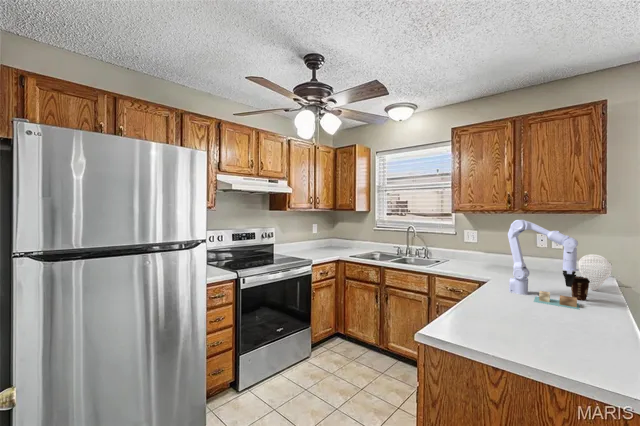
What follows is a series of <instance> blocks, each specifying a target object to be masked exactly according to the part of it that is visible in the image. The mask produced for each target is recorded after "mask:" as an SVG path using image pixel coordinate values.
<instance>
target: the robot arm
mask: <svg viewBox="0 0 640 426" xmlns="http://www.w3.org/2000/svg"><path fill="white" fill-rule="evenodd" d="M529 230H530V231H531V230H532V231H534V232H537V233H539V234H541V235H543V236H546V237H547V239H548V240H549V241H551V242H553V243H556V244H558V245H560V246H563V252H562V253H563V254H562V255H563V257H562V268H561V269H562V276H563V277H564V281H565V286H566V287H567V288H571V287H572V284H573V280H574V278H575V277H576V276H577V274H576V273H577V272H578V271H579V268H578V269H577V262H578V261H577V259H578V246H579V242H578V240H577V239H576V238H574V237H571V236H570V235H565V234H563V233H561V232H560V231H559V230H549V229H546V228H545V227H542V226H540V225H538V224H536V223H534V222H531V221H528V220H525V219H516V220H514V221H513V222H512V223H511V224H510V227H509V230H508V232H507V238H508V242H509V247H510V252H511V255H512V261H513V266H512V267H513V268H512V269H513V271H512V275H513V277H510V278H509V284H508V285H509V286H508V292H509V293H511V294H512V293H513V294H517V295H523V296H526V295H529V294H528V293H529V279H528V277H529V276H530V270H529V269H528V267H527V265H526V262H525V261H524V256H523V252H522V248H521V244H520V238H519V235H521V233H523V232H524V231H529ZM579 272H580V271H579Z"/></svg>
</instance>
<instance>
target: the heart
mask: <svg viewBox="0 0 640 426" xmlns="http://www.w3.org/2000/svg"><path fill="white" fill-rule="evenodd" d="M578 269H579V273H580V275H581V277H584V278H585V277H586V278H588V279H589V281H590V283H589V288H588V289H590V290H592V291H597V290H598V289H599V288H600V287H601V286H602V285H603V284H604V283H605V281H606V280H607V279H608V278H609V277H610V275H611V274H612V272H613V267H612V265H611V263H610V262H609V260H608V259H607V258H606V257H604V256H602V255H599V254H596V253H595V254H594V253H593V254H592V253H591V254H585V255H584V256H582V257H580V258H579V260H578Z"/></svg>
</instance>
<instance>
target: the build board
mask: <svg viewBox="0 0 640 426" xmlns="http://www.w3.org/2000/svg"><path fill="white" fill-rule="evenodd" d="M533 303H537V304H543V305H550V306H555V307H561V308H562V307H563V308H568V309H573V310H580V302H579V303H578V302H577V307H571V306H565V305H559V303H560V299H553V298H550V302H544V301H539V296H534V299H533Z"/></svg>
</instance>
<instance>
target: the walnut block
mask: <svg viewBox="0 0 640 426" xmlns="http://www.w3.org/2000/svg"><path fill="white" fill-rule="evenodd" d="M559 300H560V303H559V305H565V306H571V307H577V303H578V300H577V298H575V297H572V296H567V295H559Z"/></svg>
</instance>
